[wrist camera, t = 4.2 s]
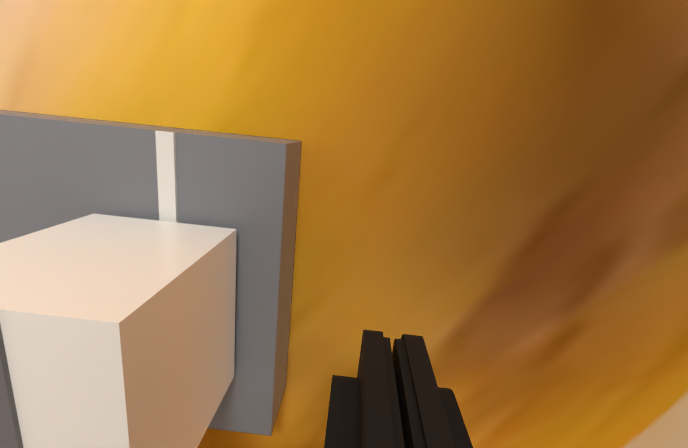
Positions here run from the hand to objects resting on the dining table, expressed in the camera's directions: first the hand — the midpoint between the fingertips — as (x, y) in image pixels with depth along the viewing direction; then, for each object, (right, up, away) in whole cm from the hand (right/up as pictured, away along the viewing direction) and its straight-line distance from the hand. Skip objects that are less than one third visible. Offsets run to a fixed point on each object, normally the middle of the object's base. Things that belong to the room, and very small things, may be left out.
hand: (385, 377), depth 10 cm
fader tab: (-8, +2, +3) cm, 8 cm away
